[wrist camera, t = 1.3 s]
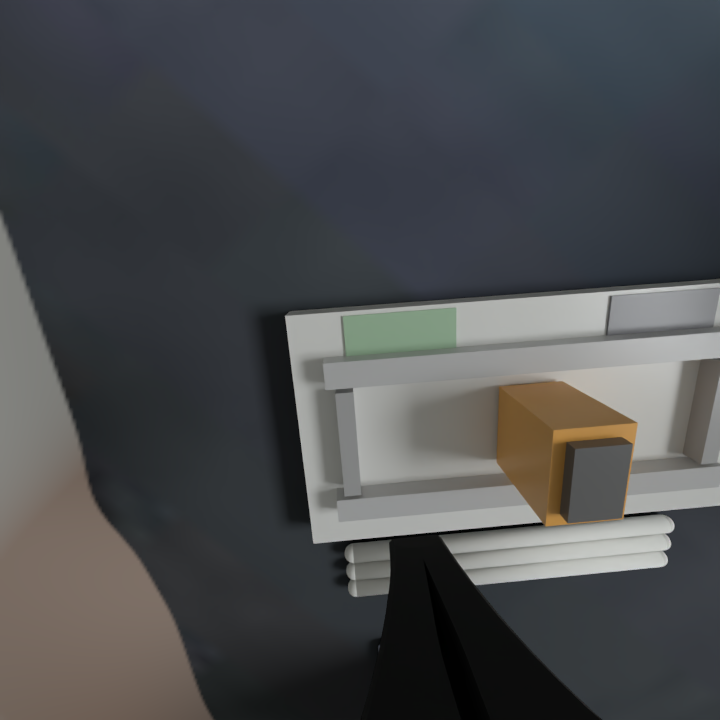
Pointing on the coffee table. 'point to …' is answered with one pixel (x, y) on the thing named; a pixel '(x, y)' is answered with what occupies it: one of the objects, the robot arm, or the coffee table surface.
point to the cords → (529, 552)
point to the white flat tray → (497, 400)
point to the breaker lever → (565, 452)
